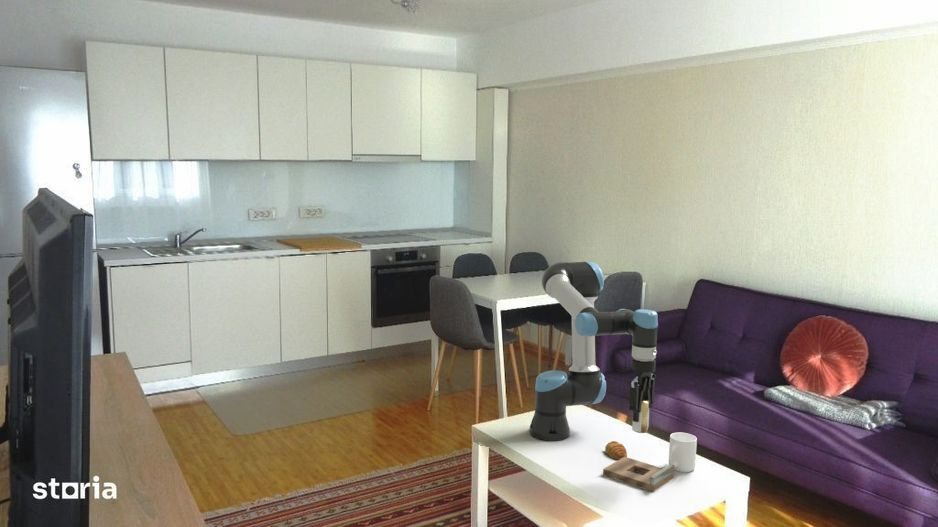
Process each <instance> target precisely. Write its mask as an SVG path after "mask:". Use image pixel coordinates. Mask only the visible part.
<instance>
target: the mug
mask: <svg viewBox="0 0 938 527" xmlns="http://www.w3.org/2000/svg"><path fill="white" fill-rule="evenodd" d="M697 441H698V438H697V437H696V435H693V434H691V433H687V432H681V431H680V432H673V433H671V434H670V436H669V446H668V447H669V451H668V465H669V464H673V465H674V471H676V472H678V473H679V472H680V473H689V472H692V471H695V468H696V462H697V461H696V458H697V457H696V455H697V443H698V442H697Z"/></svg>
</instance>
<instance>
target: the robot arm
mask: <svg viewBox="0 0 938 527" xmlns="http://www.w3.org/2000/svg"><path fill="white" fill-rule="evenodd" d="M604 280H605V279H604V274H603V271H602V269H601V268H600V266H599V265H598V264H597V263H596V262H592V261H574V262H573V261H572V262H571V261H569V262H556V263H553V264H552V265H550V266H548V267H547V268H546V269H545V271H544V272H543V274H542V277H541V286H542V289H543V290H544V292H545V293H546V295H547V296H549V297H550V298H551V299H555V300H556V301H557V302H558V304H560V305H561V306H562V308H564V309H565V311H566V312H567V313H569V314H570V316H571V349H572V350H571V351H572V353H571V354H572V365H571V366H570V367H569V368H568V374H567V372H565V371H564V370H560V369H559V370H555V369H554V370H553V369H552V370H547V371H544V372H541V373H539V374H538V375H537V377H536V378H535V386H534V390H535V391H534V414H533V416H532V420H531V422H530V425H529V435H530V436H532V437H533V438H535V439H537V440H542V441H547V442H549V441H550V442H555V441H563V440H566V439H568V438H569V437H570V435H571V429H570V428H571V427H570V425H569V422H568V419H567V415H566V414H567V407H572V406H573V407H574V406H583V405H585V406H587V405H588V406H591V405H595V404H599V403H600V402H602V401H603V400H604V397H605V395H606V390H607V381H606V380H605V379H606V378H605V375H604V374H603V373H602V372H601V370H600V367H598V366H597V365H596V336H611V335H612V336H613V335H629V336H631V337H632V339H631V340H632V341H631V342H632V344H631V357H632V358H631V362H630V363H631V365H630V368H631V370H632V371H634V375H633V380H629V382H628V385H629V399H628V400H629V404H628V408H629V409H628V411H631V412H632V422H631V424H632V428H631V430H632V431H633V432H635V431H637V432H636V433H638V432H641V419H642V412H640V410H641V404H642V399H646V400H648V401H649V408H648V428H649V426H650V424H649V422H650V408H651V409H653V407H654V405H653V404H654V399H655V382H656V377H657V375H656V374H655V373H654V372H656V363H657V362H656V358H657V353H658V351H657V342H658V328H659V323H658V322H659V321H658V320H659V318H658V313H657V311H655V310H653V309H643V308H640V309H636V310H634V311H633V310H631V309H626V308H619V309H618V310H616V311H599V310H597V309H596V308H595V301H596V300H597V299H598V298H599V293H600V292H602V291H603V289H604V285H605V281H604Z"/></svg>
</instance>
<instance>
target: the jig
mask: <svg viewBox="0 0 938 527" xmlns="http://www.w3.org/2000/svg"><path fill="white" fill-rule="evenodd" d="M635 472H637V473H635ZM638 473H639V474H638ZM641 474H642V475H641ZM602 475H603V476H606V477H609V478H611V479H614V480H618V481H621V482H623V483H627V484H629V485H632V486H636V487H638V488H641V489H644V490H647V491H650V492H655V491H656V490H658V489H660V488H661V487H662V486H664V485H665V484H667V483H668V482H670V481H671V480H673V479H674V478H675V470H674V465H673V464H669V463H668V465H666V466H665V467H663V468H662V467H660V466H656V465H652V464H649V463H646V462H643V461H640V460H638V459H633V458H630V457H628V456H627V457H623V458H621V459H620V460H618V459H617V460H616V461H614V462H612V463H611V464H609V465H607V466H606V467H604V468H602Z"/></svg>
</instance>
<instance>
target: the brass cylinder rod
mask: <svg viewBox="0 0 938 527" xmlns="http://www.w3.org/2000/svg"><path fill="white" fill-rule="evenodd" d="M648 408H649V401H648V400H646V399H642V404H641V410H640V412H642V419H641V432H637V431H634V433H638V434H646V433H648ZM649 409H650V408H649Z"/></svg>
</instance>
